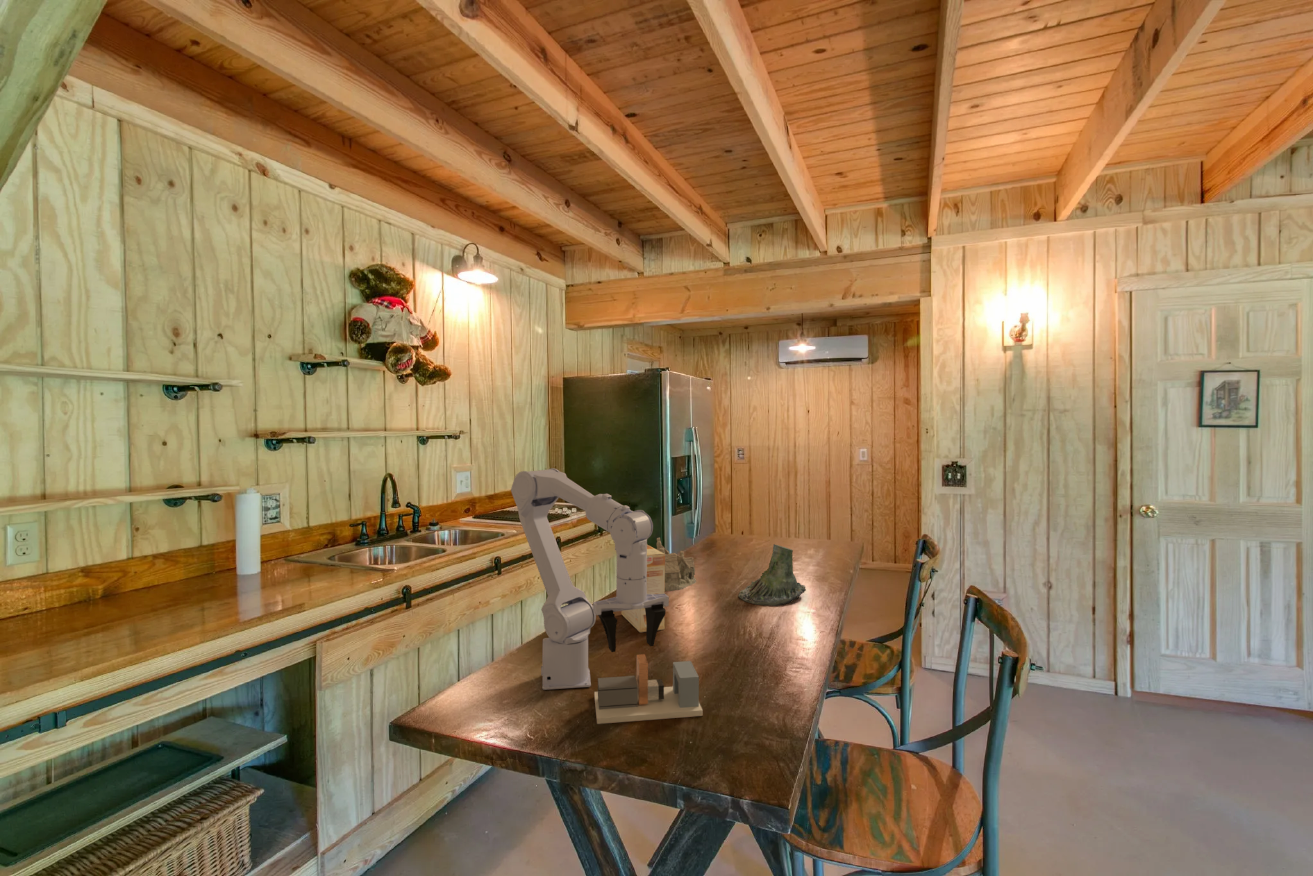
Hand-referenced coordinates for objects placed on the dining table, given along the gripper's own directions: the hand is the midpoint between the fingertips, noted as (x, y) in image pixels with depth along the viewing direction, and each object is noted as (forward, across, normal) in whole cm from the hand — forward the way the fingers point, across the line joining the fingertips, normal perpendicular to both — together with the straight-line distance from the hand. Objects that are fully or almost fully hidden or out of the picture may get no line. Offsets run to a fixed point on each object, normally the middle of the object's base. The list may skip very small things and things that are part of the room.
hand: (631, 647), depth 111 cm
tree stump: (+11, +62, +46) cm, 78 cm away
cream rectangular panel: (+10, +2, -3) cm, 11 cm away
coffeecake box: (+11, +17, +40) cm, 44 cm away
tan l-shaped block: (+9, -1, -2) cm, 9 cm away
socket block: (+9, +9, -5) cm, 14 cm away
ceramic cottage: (+11, +39, +69) cm, 81 cm away
